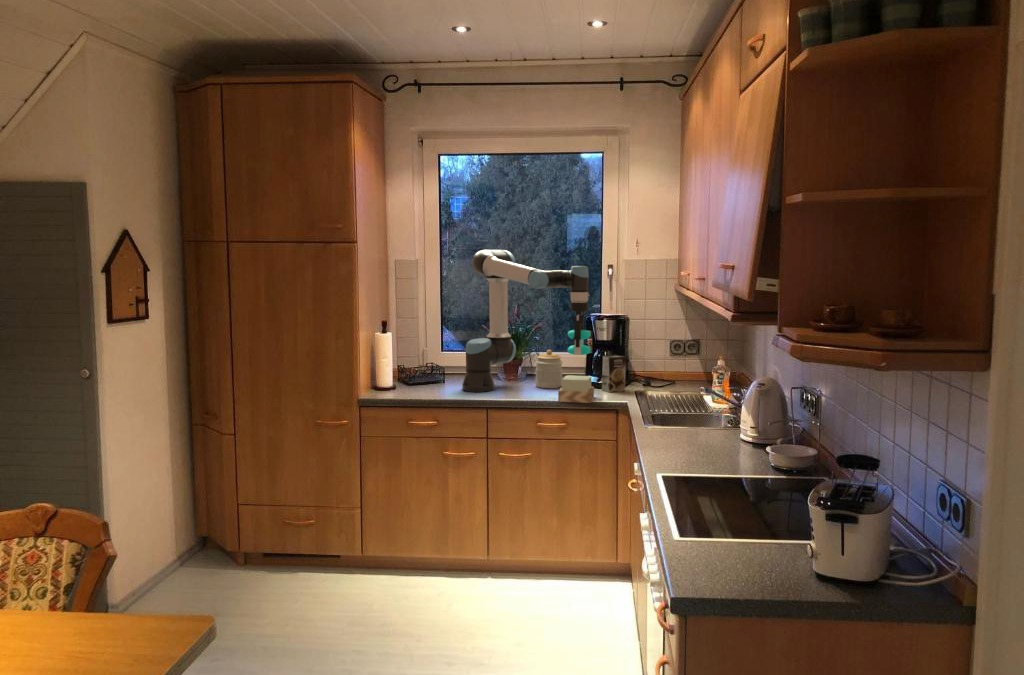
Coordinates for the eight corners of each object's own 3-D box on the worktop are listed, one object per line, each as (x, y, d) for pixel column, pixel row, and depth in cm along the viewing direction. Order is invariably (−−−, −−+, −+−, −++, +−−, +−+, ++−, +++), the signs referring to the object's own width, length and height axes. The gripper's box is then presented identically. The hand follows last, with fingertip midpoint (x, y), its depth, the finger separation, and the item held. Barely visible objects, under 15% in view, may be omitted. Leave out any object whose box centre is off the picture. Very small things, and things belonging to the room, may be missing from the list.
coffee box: (609, 392, 353) (610, 357, 351) (601, 390, 359) (602, 355, 357) (625, 390, 357) (626, 356, 355) (617, 388, 363) (618, 354, 361)
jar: (539, 389, 361) (539, 351, 359) (532, 384, 373) (532, 348, 371) (566, 388, 364) (566, 351, 362) (558, 383, 376) (558, 347, 374)
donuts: (580, 329, 341) (595, 330, 333) (580, 351, 342) (595, 353, 334) (563, 330, 335) (578, 332, 327) (562, 353, 336) (577, 355, 328)
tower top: (562, 390, 333) (562, 379, 332) (566, 386, 343) (566, 375, 343) (587, 391, 330) (587, 380, 329) (591, 387, 340) (591, 376, 340)
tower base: (558, 402, 332) (558, 391, 332) (562, 396, 346) (562, 385, 345) (590, 403, 329) (591, 392, 329) (593, 397, 343) (593, 386, 343)
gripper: (585, 303, 321) (585, 356, 323) (590, 300, 343) (590, 350, 345) (567, 303, 322) (567, 356, 324) (573, 300, 344) (573, 349, 346)
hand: (579, 353), depth 335 cm, fingers closed on donuts, 10 cm apart
